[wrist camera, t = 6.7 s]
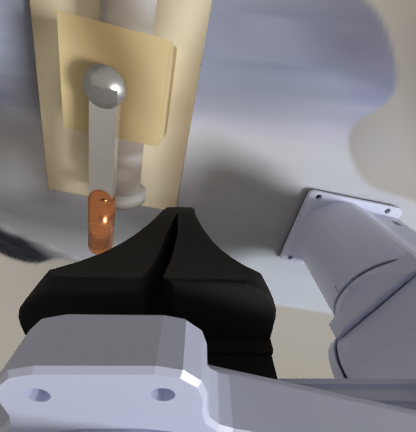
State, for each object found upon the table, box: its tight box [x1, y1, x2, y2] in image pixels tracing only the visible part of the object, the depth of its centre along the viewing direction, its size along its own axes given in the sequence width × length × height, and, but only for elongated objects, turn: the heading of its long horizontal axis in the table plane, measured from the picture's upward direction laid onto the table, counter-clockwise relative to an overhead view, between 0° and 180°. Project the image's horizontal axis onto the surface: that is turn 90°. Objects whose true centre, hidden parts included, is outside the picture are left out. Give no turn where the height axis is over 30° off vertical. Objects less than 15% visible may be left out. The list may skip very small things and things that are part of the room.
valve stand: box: [30, 0, 212, 210], centre depth 16 cm, size 11×19×6 cm, turn 168°
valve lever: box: [83, 64, 127, 255], centre depth 15 cm, size 12×2×2 cm, turn 167°
